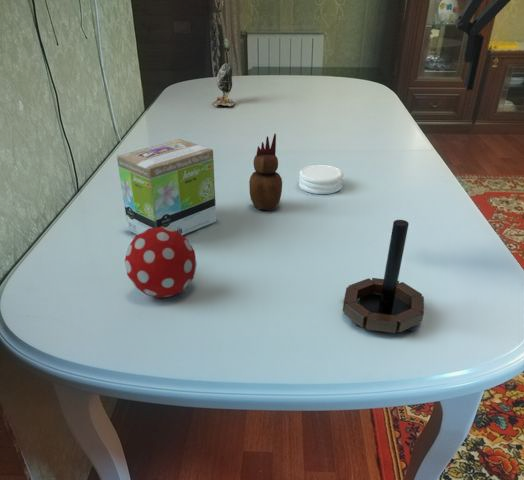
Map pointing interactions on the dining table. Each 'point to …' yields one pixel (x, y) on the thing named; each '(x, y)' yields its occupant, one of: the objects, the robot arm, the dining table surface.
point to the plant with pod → (225, 80)
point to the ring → (382, 320)
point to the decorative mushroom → (160, 262)
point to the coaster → (321, 179)
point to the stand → (390, 277)
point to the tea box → (168, 187)
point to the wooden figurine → (266, 178)
